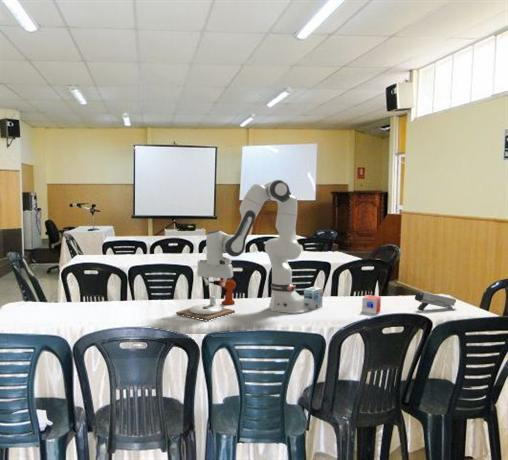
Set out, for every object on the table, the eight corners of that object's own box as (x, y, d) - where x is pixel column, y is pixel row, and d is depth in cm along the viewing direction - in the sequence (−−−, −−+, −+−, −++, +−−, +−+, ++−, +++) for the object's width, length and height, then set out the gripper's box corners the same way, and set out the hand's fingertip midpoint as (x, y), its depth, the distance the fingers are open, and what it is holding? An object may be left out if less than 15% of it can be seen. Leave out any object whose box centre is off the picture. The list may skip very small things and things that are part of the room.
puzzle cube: (380, 310, 267) (380, 296, 266) (376, 313, 260) (376, 299, 259) (366, 308, 271) (366, 294, 270) (361, 311, 264) (362, 297, 263)
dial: (210, 316, 243) (210, 304, 243) (183, 312, 251) (183, 300, 251) (227, 309, 258) (227, 297, 258) (201, 305, 266) (201, 294, 266)
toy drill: (201, 301, 278) (205, 275, 277) (233, 304, 281) (237, 279, 280) (202, 303, 273) (205, 277, 272) (234, 306, 276) (238, 280, 276)
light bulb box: (313, 309, 267) (313, 290, 266) (303, 308, 271) (303, 289, 270) (322, 306, 275) (323, 287, 274) (312, 304, 279) (312, 286, 278)
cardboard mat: (234, 312, 257) (234, 309, 257) (207, 321, 240) (207, 318, 239) (203, 306, 270) (203, 304, 270) (176, 314, 252) (176, 311, 252)
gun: (411, 307, 270) (415, 290, 270) (450, 315, 275) (454, 298, 275) (413, 308, 268) (418, 291, 267) (452, 316, 273) (456, 299, 272)
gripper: (194, 260, 259) (195, 285, 260) (229, 261, 252) (229, 287, 253) (200, 258, 265) (200, 283, 266) (234, 260, 258) (234, 285, 259)
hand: (215, 285), depth 260 cm, fingers open, 8 cm apart
